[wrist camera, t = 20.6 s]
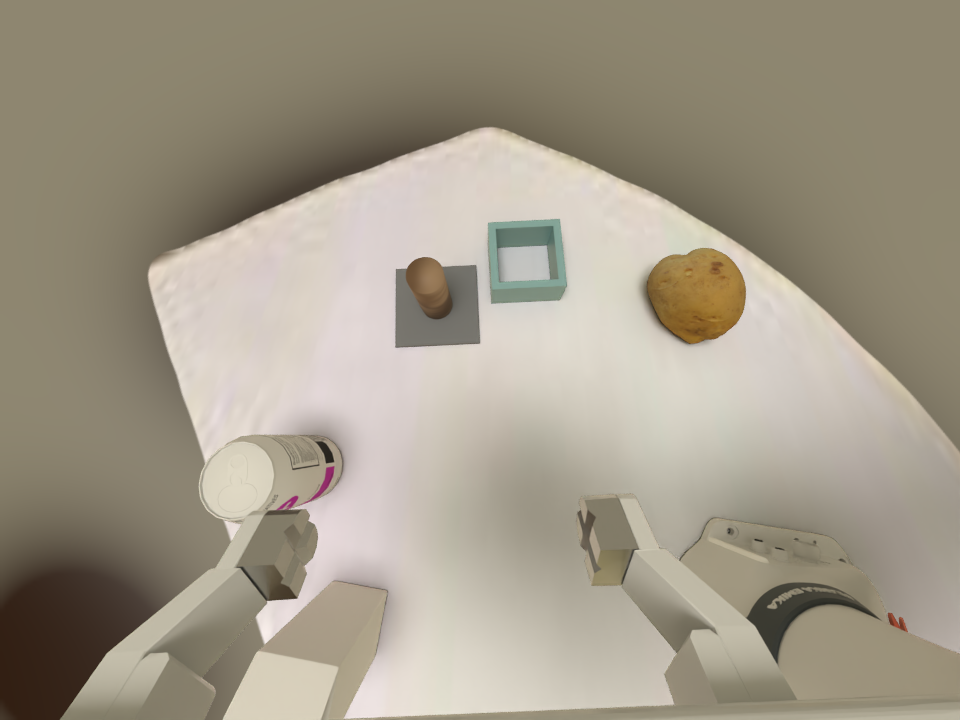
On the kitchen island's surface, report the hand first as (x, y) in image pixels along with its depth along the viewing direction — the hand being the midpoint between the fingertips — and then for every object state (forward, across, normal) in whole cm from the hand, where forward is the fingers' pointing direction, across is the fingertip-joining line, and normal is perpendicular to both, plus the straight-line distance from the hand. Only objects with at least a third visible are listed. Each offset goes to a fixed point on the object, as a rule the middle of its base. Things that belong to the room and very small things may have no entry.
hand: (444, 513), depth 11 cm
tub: (+45, -8, +8) cm, 46 cm away
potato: (+40, -30, +13) cm, 52 cm away
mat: (+42, +5, +11) cm, 43 cm away
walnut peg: (+41, +5, +11) cm, 43 cm away
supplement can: (+26, +22, +27) cm, 44 cm away
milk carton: (+13, +16, +40) cm, 45 cm away
